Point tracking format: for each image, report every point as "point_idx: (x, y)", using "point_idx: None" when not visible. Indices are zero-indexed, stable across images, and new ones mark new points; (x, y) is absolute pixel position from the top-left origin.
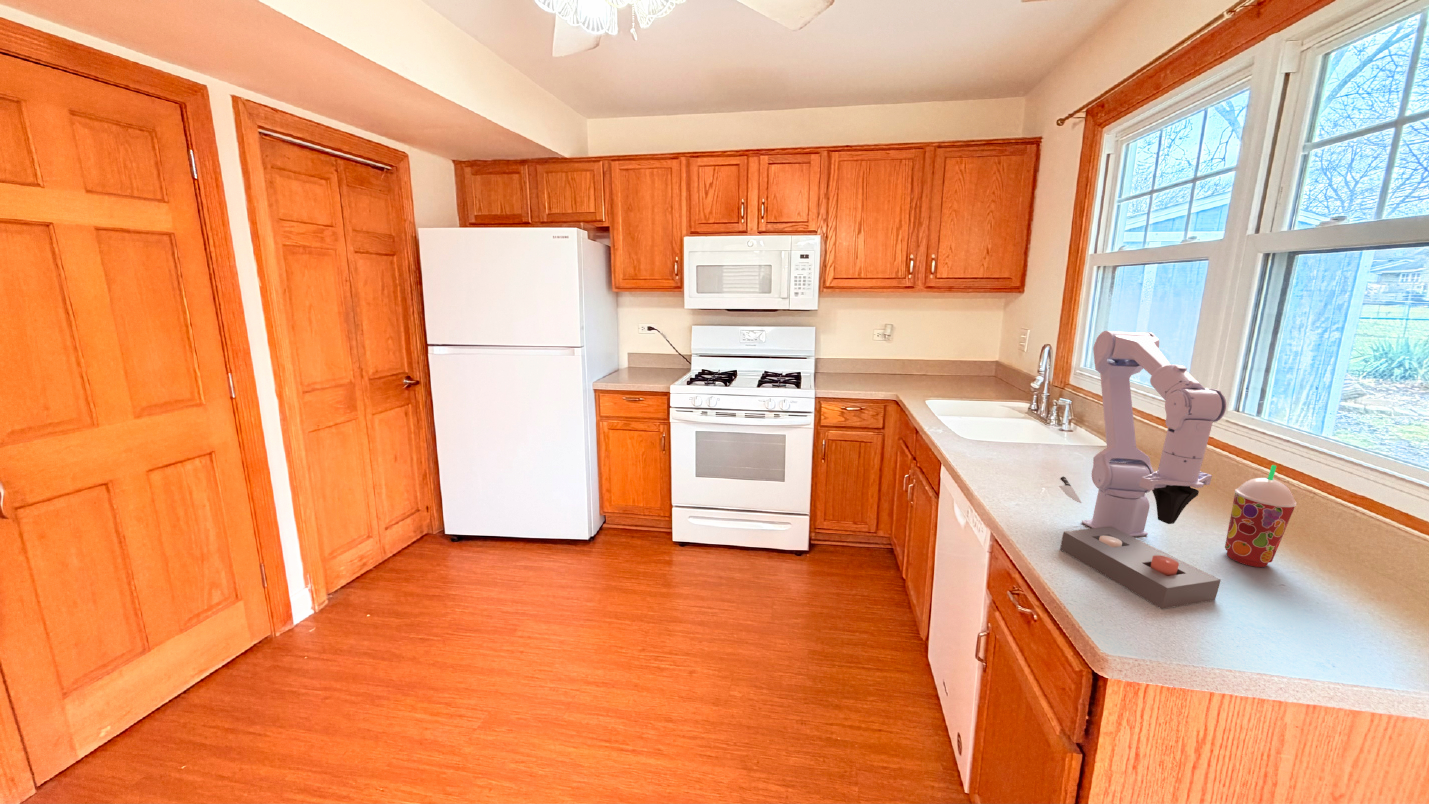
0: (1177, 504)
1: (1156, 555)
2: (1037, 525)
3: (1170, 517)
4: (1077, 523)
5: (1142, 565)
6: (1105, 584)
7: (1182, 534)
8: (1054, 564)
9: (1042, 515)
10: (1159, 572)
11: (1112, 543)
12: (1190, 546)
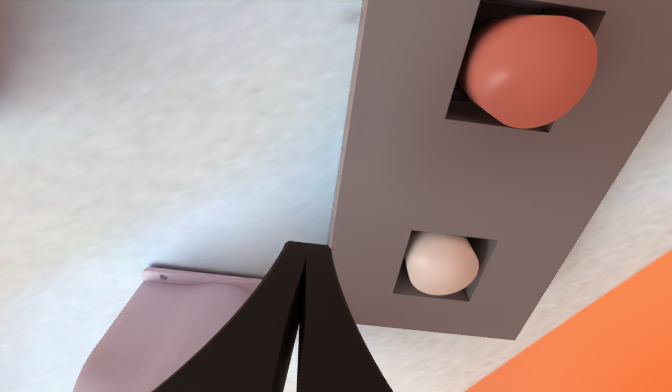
0: (347, 371)
1: (515, 125)
2: (400, 367)
3: (336, 277)
4: None
5: (575, 117)
6: None
7: (17, 239)
8: (602, 251)
9: None
10: None
11: (470, 255)
12: (60, 188)
